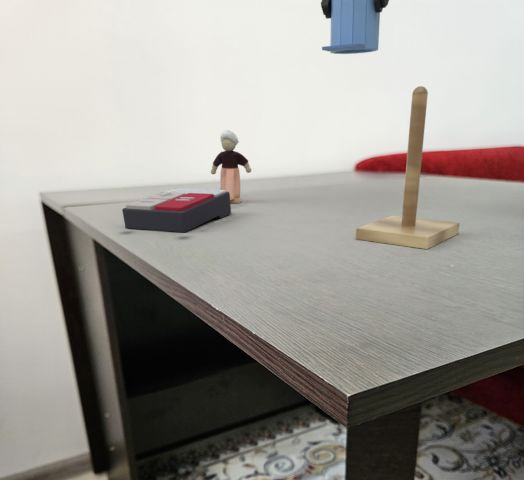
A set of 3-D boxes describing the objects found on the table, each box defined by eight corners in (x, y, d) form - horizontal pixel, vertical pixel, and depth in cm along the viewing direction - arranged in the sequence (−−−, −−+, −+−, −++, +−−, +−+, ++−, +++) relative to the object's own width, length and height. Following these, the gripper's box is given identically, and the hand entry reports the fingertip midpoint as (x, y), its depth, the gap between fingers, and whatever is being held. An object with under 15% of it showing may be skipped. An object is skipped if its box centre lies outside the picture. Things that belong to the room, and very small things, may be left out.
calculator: (119, 203, 79) (174, 185, 91) (124, 232, 81) (177, 210, 93) (181, 207, 74) (230, 186, 86) (185, 236, 76) (232, 213, 88)
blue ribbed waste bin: (340, 54, 79) (341, -13, 75) (383, 51, 76) (386, -19, 73) (317, 50, 72) (317, -24, 68) (363, 46, 69) (366, -32, 65)
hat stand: (390, 225, 76) (400, 88, 69) (458, 234, 70) (477, 84, 63) (355, 239, 69) (362, 88, 62) (427, 249, 63) (444, 83, 56)
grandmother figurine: (211, 204, 98) (206, 131, 92) (213, 201, 101) (208, 130, 96) (252, 203, 98) (249, 130, 92) (252, 200, 101) (250, 129, 96)
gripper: (328, -93, 76) (295, -10, 71) (429, -115, 70) (400, -25, 65) (340, -41, 82) (310, 39, 78) (433, -57, 76) (407, 29, 72)
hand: (351, 9), depth 72 cm, fingers closed on blue ribbed waste bin, 6 cm apart
